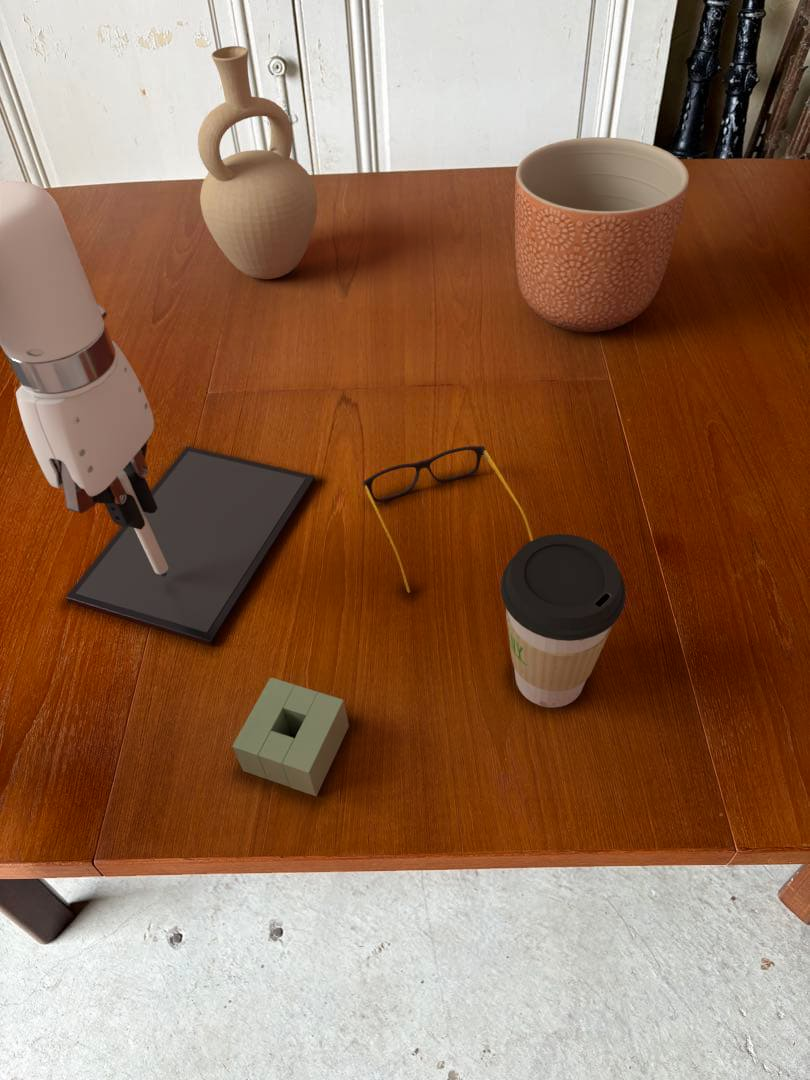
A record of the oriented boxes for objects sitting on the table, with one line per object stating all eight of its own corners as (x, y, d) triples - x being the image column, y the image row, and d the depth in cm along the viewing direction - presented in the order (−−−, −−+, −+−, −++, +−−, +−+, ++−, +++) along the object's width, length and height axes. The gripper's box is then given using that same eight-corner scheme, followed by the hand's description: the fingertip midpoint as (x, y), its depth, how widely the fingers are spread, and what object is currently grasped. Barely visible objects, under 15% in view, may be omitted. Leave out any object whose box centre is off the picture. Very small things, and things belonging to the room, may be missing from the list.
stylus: (154, 577, 83) (106, 478, 72) (161, 567, 83) (115, 468, 73) (166, 580, 82) (120, 482, 72) (173, 570, 83) (128, 471, 73)
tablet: (68, 602, 83) (64, 596, 83) (188, 451, 98) (186, 445, 97) (212, 646, 79) (210, 640, 78) (316, 481, 93) (314, 475, 93)
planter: (690, 329, 109) (725, 189, 95) (550, 368, 105) (564, 228, 91) (612, 257, 122) (632, 124, 108) (485, 288, 118) (488, 155, 104)
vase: (254, 310, 118) (205, 87, 95) (198, 267, 127) (142, 53, 104) (347, 268, 124) (321, 49, 102) (287, 230, 133) (252, 21, 111)
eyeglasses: (480, 465, 94) (480, 439, 91) (536, 553, 84) (539, 527, 81) (363, 500, 91) (359, 474, 88) (408, 595, 82) (406, 569, 79)
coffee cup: (541, 616, 79) (554, 509, 68) (626, 676, 74) (655, 572, 63) (473, 679, 75) (475, 576, 64) (558, 747, 70) (576, 649, 59)
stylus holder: (242, 771, 70) (231, 746, 67) (279, 703, 74) (270, 676, 71) (316, 796, 68) (308, 772, 65) (349, 725, 72) (343, 699, 69)
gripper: (82, 292, 68) (147, 454, 82) (-45, 407, 59) (53, 568, 73) (158, 306, 66) (212, 469, 80) (39, 427, 57) (123, 588, 71)
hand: (136, 515), depth 76 cm, fingers closed on stylus, 1 cm apart
